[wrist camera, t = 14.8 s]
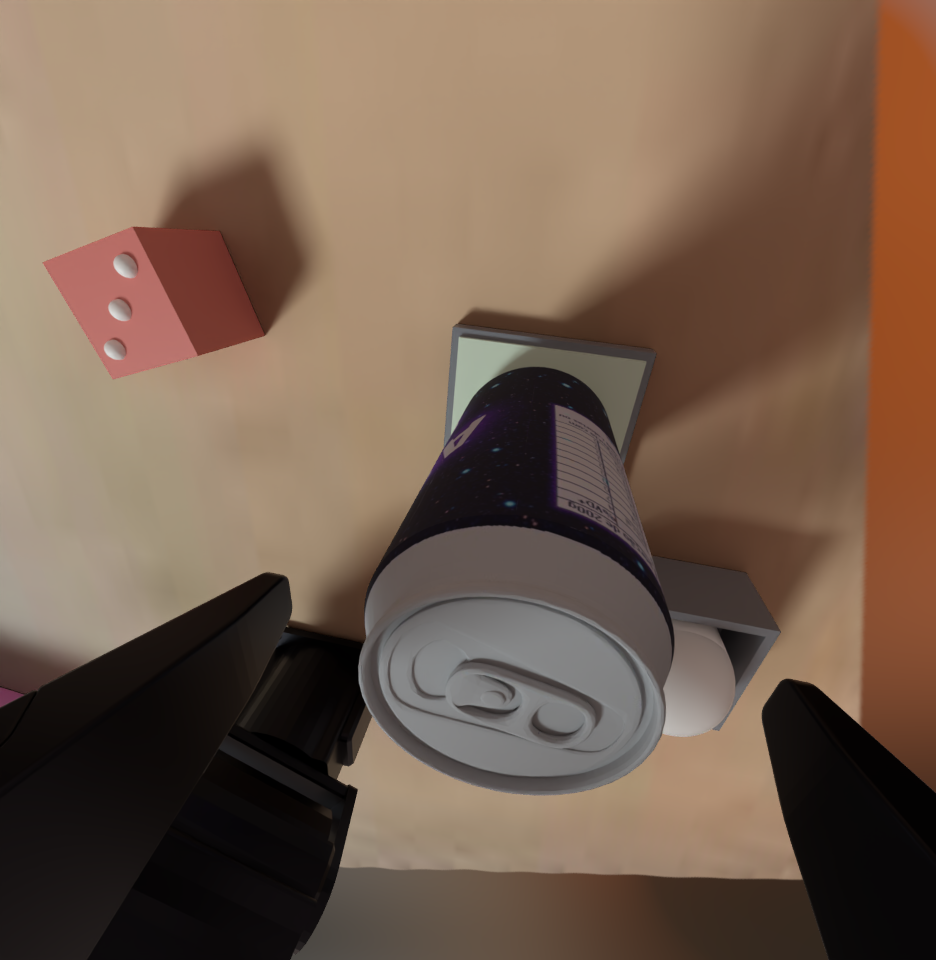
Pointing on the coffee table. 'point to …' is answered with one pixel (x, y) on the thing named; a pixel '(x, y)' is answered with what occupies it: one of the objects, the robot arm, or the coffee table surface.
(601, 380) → the game board
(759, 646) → the dome base
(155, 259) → the die
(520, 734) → the beverage can
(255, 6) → the coffee table surface
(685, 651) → the dome
